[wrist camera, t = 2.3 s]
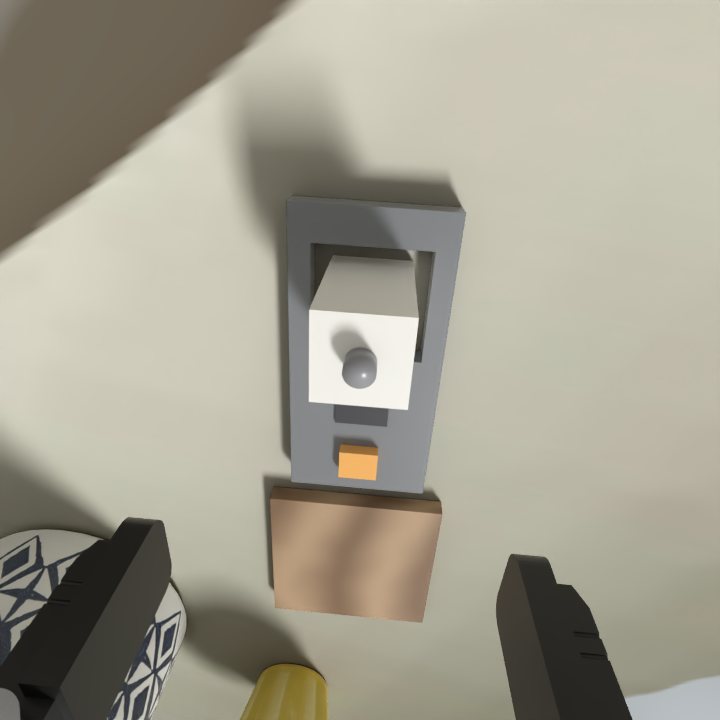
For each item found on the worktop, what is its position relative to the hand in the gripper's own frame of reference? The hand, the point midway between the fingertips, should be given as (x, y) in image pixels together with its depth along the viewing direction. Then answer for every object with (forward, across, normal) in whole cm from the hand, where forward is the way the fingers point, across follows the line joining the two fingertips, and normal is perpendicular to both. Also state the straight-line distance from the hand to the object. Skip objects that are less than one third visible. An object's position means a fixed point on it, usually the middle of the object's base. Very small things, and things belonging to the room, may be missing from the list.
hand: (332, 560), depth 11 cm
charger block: (+18, 0, 0) cm, 18 cm away
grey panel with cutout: (+18, 0, +4) cm, 19 cm away
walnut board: (+18, 0, +21) cm, 28 cm away
